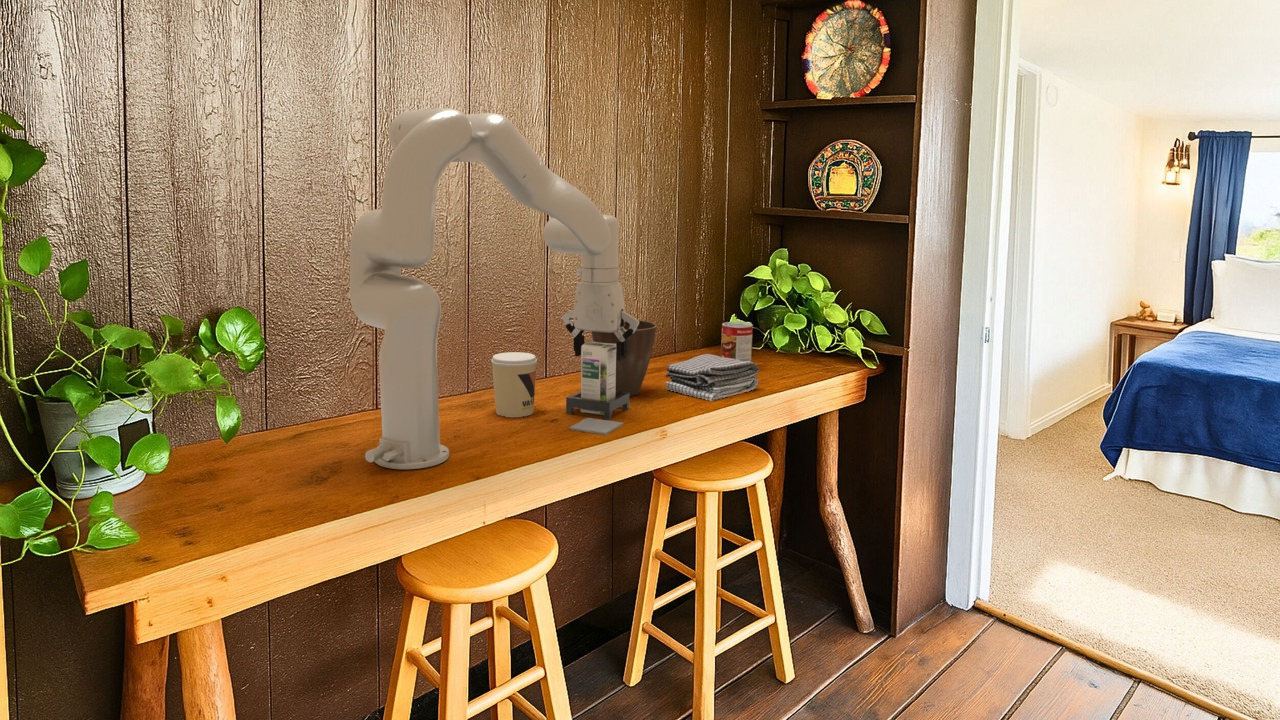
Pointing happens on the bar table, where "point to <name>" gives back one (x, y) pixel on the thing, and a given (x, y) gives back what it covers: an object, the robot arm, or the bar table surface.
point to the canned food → (737, 340)
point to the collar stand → (598, 403)
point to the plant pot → (631, 355)
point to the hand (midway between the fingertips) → (600, 357)
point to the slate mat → (596, 426)
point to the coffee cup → (514, 383)
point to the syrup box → (598, 372)
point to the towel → (712, 377)
